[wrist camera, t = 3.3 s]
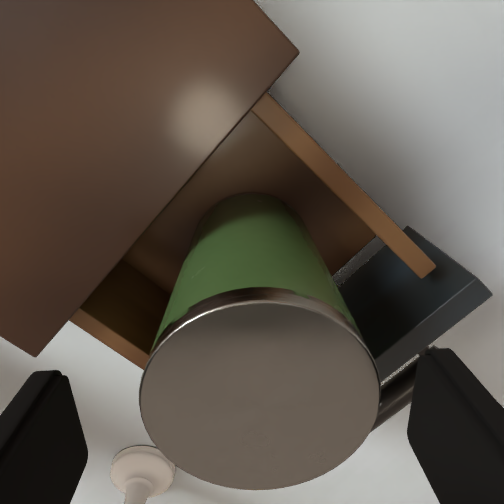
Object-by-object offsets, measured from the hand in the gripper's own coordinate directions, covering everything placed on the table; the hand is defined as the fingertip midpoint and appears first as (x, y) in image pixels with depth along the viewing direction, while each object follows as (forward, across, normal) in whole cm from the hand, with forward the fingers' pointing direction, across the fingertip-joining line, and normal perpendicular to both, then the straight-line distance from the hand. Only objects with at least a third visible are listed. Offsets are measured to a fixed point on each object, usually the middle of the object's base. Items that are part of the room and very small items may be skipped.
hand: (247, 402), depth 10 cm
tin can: (+11, 0, 0) cm, 11 cm away
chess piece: (+14, +8, +19) cm, 25 cm away
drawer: (+12, -2, +2) cm, 13 cm away
